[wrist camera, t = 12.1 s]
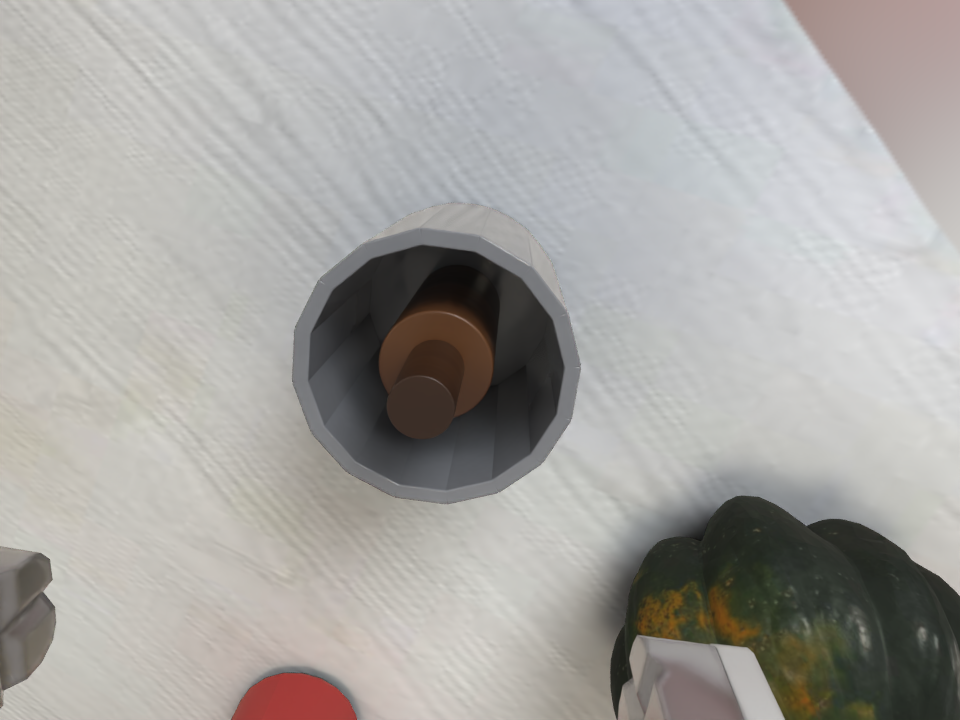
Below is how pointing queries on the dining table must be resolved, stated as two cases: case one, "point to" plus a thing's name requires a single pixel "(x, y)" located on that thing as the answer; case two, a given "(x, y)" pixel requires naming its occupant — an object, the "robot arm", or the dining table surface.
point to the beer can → (294, 700)
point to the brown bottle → (440, 351)
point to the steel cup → (374, 310)
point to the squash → (805, 614)
